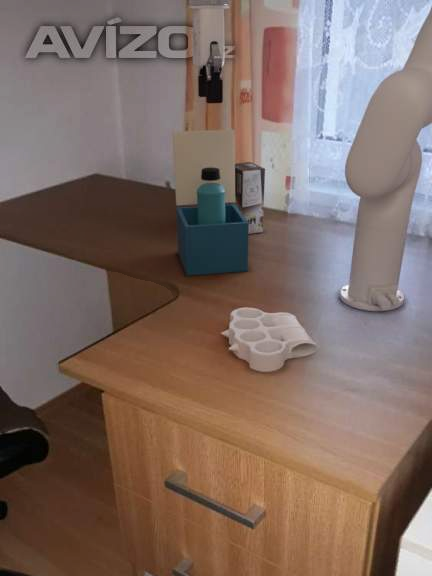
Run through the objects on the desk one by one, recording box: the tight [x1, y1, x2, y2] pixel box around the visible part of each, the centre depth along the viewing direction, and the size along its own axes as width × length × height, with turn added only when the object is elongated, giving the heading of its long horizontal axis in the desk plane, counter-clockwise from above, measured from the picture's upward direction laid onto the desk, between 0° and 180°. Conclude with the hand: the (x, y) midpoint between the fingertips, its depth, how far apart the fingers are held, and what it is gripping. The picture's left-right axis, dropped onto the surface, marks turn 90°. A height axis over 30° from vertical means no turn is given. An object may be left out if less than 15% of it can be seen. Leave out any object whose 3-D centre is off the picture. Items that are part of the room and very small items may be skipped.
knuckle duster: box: [219, 307, 317, 373], centre depth 105 cm, size 3×18×15 cm
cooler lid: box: [171, 129, 236, 207], centre depth 140 cm, size 16×14×5 cm
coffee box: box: [228, 161, 266, 235], centre depth 157 cm, size 9×6×16 cm
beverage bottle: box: [196, 167, 226, 225], centre depth 135 cm, size 6×7×20 cm
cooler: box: [176, 203, 250, 276], centre depth 138 cm, size 15×14×11 cm
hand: (210, 99), depth 123 cm, fingers open, 9 cm apart
